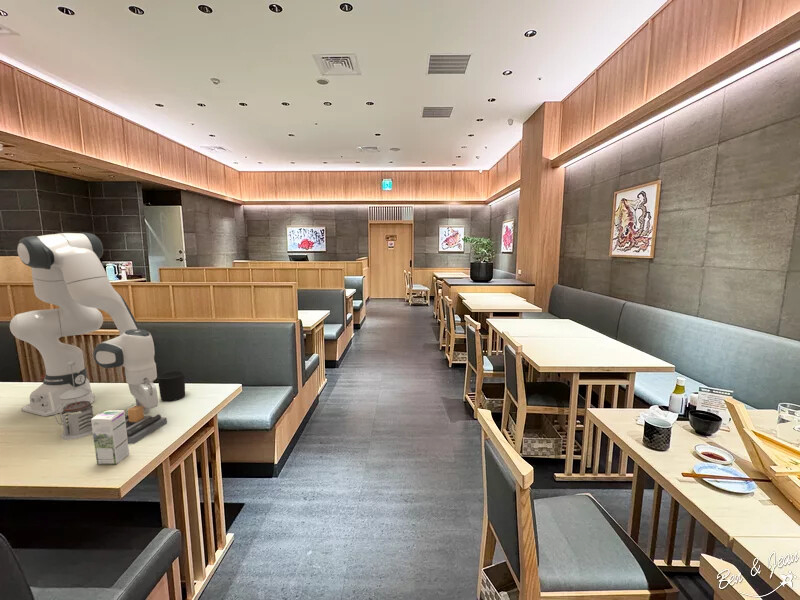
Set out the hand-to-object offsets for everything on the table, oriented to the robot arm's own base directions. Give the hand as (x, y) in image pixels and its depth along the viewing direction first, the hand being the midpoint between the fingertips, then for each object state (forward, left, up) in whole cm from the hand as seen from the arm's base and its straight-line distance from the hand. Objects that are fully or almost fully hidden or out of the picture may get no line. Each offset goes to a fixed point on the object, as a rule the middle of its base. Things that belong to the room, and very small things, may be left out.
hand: (145, 412), depth 128 cm
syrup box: (+8, -21, -4) cm, 23 cm away
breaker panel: (0, -6, -4) cm, 7 cm away
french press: (-17, -10, -4) cm, 20 cm away
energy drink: (-11, +11, -4) cm, 16 cm away
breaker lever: (0, -4, -2) cm, 4 cm away
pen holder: (-7, +21, -4) cm, 23 cm away
